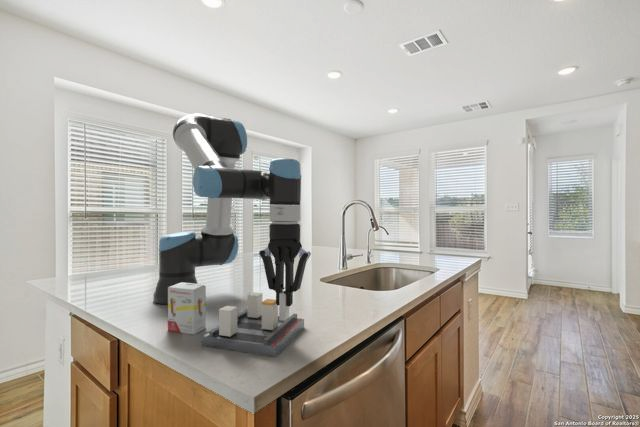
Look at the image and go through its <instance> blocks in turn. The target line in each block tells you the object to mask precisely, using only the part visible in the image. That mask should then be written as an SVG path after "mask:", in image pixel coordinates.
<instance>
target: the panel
mask: <svg viewBox="0 0 640 427" xmlns="http://www.w3.org/2000/svg"><path fill="white" fill-rule="evenodd" d="M304 328H305V318H300V317H299V318H298V313H292V315H289V318H288V319H286V320H285V321H283V320H279V315H278V326H277V327H276V328H275V329H274V330H267V329H262V315H261V316H260V317H258V318H253V317H247V309H245V310H243V311H241V312H240V313H237V332H236V333H235V334H233V335H232V336H230V337H229V336H222V335H219V325H218V326H216V327H214V328H213V329H210V330H209V331H207V332H206V333H204V334H202V335H201V346H203V347H208V348H213V349H214V348H215V349H222V350H228V351H235V352H241V353H245V354H246V353H247V354H254V355H259V356H265V357H274V358H277V357H278V356H279V354H281V353H282V351H283V350H285V348H286V347H287V346H288V345H289V344H290V343H291V342H292V341H293V340H294V339H295V338H296V337H297V335H299V333H301V331H302V330H304Z"/></svg>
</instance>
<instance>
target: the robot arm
mask: <svg viewBox="0 0 640 427" xmlns="http://www.w3.org/2000/svg"><path fill="white" fill-rule="evenodd" d="M172 136H173V140H174V143H175V144H176V146H177V147H178V148H179V149H180V150H181V151H183V152H184V153H185V156H186V157H187V159H188V160H189V162H190V164H191V166H192V167H193V170H194V172H193V175H192V187H193V191H194V193H195V195H196V196H198V197H200V198H207V204H206V220H205V221H206V222H205V225H204V226H203V227H201V229H200V234H196V232H195V231H194V230H190V231H180V232H173V233H169V234H165V235H162V237H161V238H160V239H159V245H158V253H159V254H158V256H159V258H158V262H159V263H158V269H159V270H158V281H157V283H156V285H155V286H156V287H155V291H154V292H153V298H152V299H153V300H152V301H153V303H155V304H160V305H168V287H170V286H173V285H175V284H178V283H181V282H184V283H194V284H199V283H198V281H197V277H196V268H200V267H209V266H210V267H211V266H222V265H228V264H231V263H232V262H234V260H235V259H236V257H237V255H238V252H239V237H238V236H237V235H236V233H234V230H233V228H232V226H231V219H232V218H231V216H232V205H233V199H247V200H260V201H261V200H262V201H265V200H266V201H267V200H269V222H271V223H270V224H269V241H268V244H267V247H266V248H264V249H262V250H259V253H258V254H259V256H260V257H261V259H262V263H263V267H264V273H265V276H266V280H267V285H268V289H269V290H271V291H274V292H275V300H276V304H277V305H278V316H279V320H283V321H285V320H286V319H288V318H289V317H290V307H291V306H292V305H293V303H294V302H293V298H294V296H293V294H294V292H297V291H299V290H300V289H301V285H302V281H303V278H304V272H305V269H306V265H307V262H308V260H309V258H310V257H311V252H310V251H306V250H305V248H303V245H302V243H301V225H300V223H299V222H300V221H301V194H302V193H301V191H302V190H301V188H302V174H301V173H302V172H301V163H300V161H298V160H297V159H294V158H285V157H284V158H273V159H272V160H270V163H269V169H268V170H255V169H242V168H235V166H236V163H237V162H238V161H240V157H241V155H243V154H245V153H246V151H247V150H246V149H247V148H248V147H247V146H248V134H247V131H246V128H245V126H244V124H243V123H242V122H240V121H238V120H235V119H231V118H225V117H218V116H212V115H205V114H202V113H191V114H188V115H186V116H185V115H184V116H183V117H182V118H180V119H179V120H178V121H177V122H176V123H175V125H174V126H173V130H172ZM297 256H298V257H299V260H298V263H297V268H296V271H295V276H294V270H295V269H294V267H295V266H294V265H295V259H296V257H297ZM272 257H273V258H274V262H273V259H272ZM274 266H275V267H274Z"/></svg>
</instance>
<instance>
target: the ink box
mask: <svg viewBox="0 0 640 427" xmlns="http://www.w3.org/2000/svg"><path fill="white" fill-rule="evenodd" d="M206 289H207V287H206V285H205V284H202V283H201V284H200V283H198V284H194V283H184V282H181V283H178V284H175V285H173V286H170V287H168V304H167V332H172V333H173V332H174V333H180V334H181V333H182V334H187V335H196V334H197V333H199V332H201V331H203V330H205V329H206V327H207V326H206V323H207V322H206V321H207V320H206V319H207V318H206V314H207V313H206V311H207V310H206V306H207V305H206V303H207V301H206V300H207V296H206V294H207V291H206Z"/></svg>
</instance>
